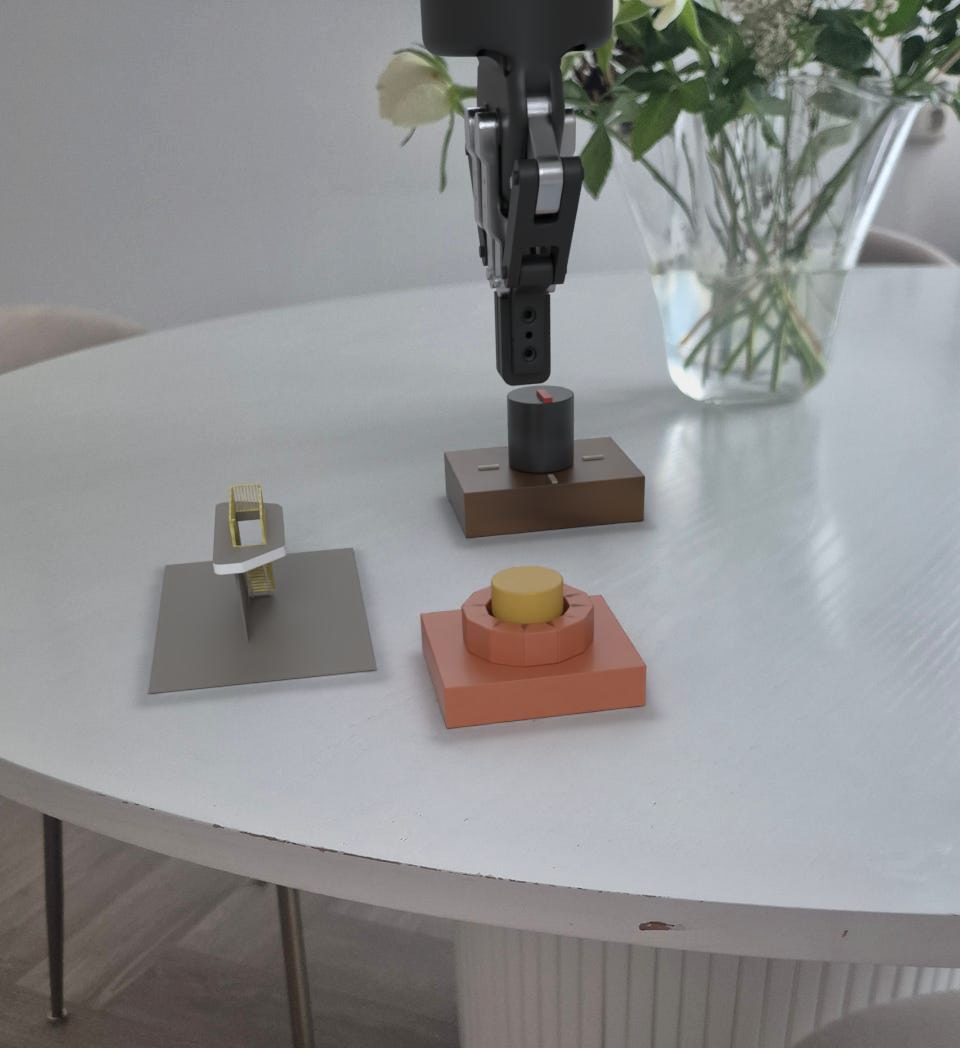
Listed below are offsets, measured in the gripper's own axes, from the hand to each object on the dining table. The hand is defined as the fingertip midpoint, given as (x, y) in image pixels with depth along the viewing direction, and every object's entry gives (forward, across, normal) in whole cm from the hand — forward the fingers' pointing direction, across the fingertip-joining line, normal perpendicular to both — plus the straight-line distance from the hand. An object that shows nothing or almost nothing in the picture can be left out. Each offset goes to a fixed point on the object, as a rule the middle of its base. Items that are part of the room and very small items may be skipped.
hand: (523, 379), depth 57 cm
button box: (+15, 0, 0) cm, 15 cm away
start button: (+11, 0, 0) cm, 11 cm away
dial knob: (+12, +25, -6) cm, 28 cm away
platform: (+15, +12, +14) cm, 24 cm away
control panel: (+15, +25, -6) cm, 30 cm away
